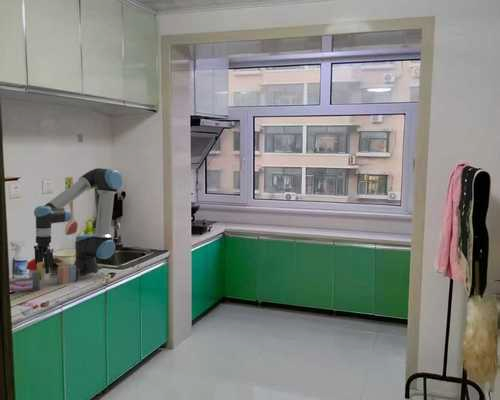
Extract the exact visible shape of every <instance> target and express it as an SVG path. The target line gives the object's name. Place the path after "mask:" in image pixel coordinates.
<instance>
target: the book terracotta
mask: <svg viewBox="0 0 500 400" xmlns="http://www.w3.org/2000/svg"><path fill="white" fill-rule="evenodd" d="M57 283H58V284H61V285H65V284H70V283H71V282H70V267H67V266H64V265H60V266H57Z"/></svg>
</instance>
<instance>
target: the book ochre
mask: <svg viewBox="0 0 500 400" xmlns="http://www.w3.org/2000/svg"><path fill="white" fill-rule="evenodd" d="M43 267H45V266H44V262H38V263H37V273H40V282H41V281H46V280H50V279H51V267H49V279H46V280H44V268H43Z"/></svg>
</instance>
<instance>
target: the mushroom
mask: <svg viewBox="0 0 500 400" xmlns="http://www.w3.org/2000/svg"><path fill="white" fill-rule="evenodd" d="M43 262H44V260H43ZM25 263H26V264H27V265H26V270H28V276H29V279H30V280H31V279H32V272H36V273H37V264H35V258H33V259H31V260H30V259H28V260H26V262H25Z"/></svg>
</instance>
